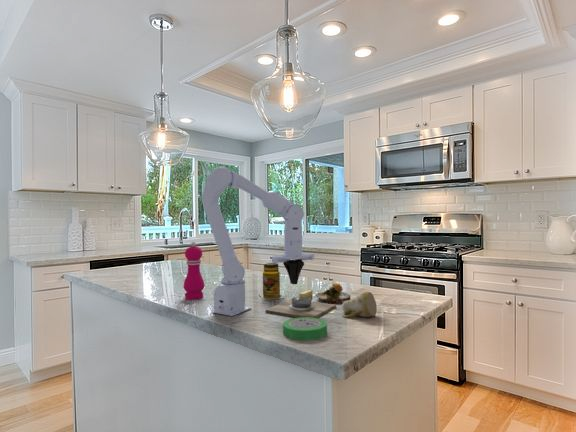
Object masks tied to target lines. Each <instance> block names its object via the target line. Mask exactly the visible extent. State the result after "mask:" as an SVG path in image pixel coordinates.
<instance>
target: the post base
mask: <svg viewBox="0 0 576 432" xmlns="http://www.w3.org/2000/svg"><path fill="white" fill-rule="evenodd" d="M335 308H337V305H336V304H334V303H333V304H328V303H327V302H319V301H311V306H310V307H304V308H299V307H294V306H292V298H291V299H289V300H287V301H286V300H285V301H284V302H281V303H279V304H277V305H274V306H272V307H269V308H268V309H265V313H267V314H273V315H278V316H283V317H291V318H299V317H312V318H318V319H319V318H320V317H321V316H323V315H324V314H326V313H328V312H331V311H333V310H334V309H335Z"/></svg>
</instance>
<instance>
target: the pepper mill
mask: <svg viewBox="0 0 576 432" xmlns="http://www.w3.org/2000/svg"><path fill="white" fill-rule="evenodd" d="M184 255H185V258H186V265H187V273H186V276H185V279H184V282H183V289H184V290H185V293H184V298H185V300H188V301H194V300H195V301H196V300H197V301H198V300H201V299H203V298H204V292H203V290H204V288H205V281H204V278H203V276H202V274H201V269H200V267H201V264H202V262H201V261H202V260H201V258H202V256H203V250H202V249H201V247H199V246H197V243H196V242H195V241H192V242H191V243H190V246H189V247H187V248H186V249H185V252H184Z"/></svg>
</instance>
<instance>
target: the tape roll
mask: <svg viewBox="0 0 576 432" xmlns="http://www.w3.org/2000/svg"><path fill="white" fill-rule="evenodd" d="M282 333H283V336H285V337H286V338H289V339H292V340H297V341H314V340H319V339H322V338H325V337H326V336H327V335H328V324H327V322H326V320H324V319H322V318H319V317H318V318H312V317H299V318H295V317H292V318H289V319H287V320H286V319H285V321H284V322H283V323H282Z"/></svg>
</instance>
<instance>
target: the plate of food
mask: <svg viewBox="0 0 576 432" xmlns="http://www.w3.org/2000/svg"><path fill="white" fill-rule="evenodd" d="M315 297H317V298H318V299H319V300H321V301H326V302H325V303H326V304H328V303H329V304H332V303H333V304H334V302H336V303H337V304H338V303H341V304H343V303H344V301H348V300H351V295H350V294H348V293H345V292H343V287H342V284H340V283H337V282H334V283H331V286H330V287H329V288H328V289H326V290H324V291H323V292H319V293H316V295H315Z"/></svg>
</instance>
